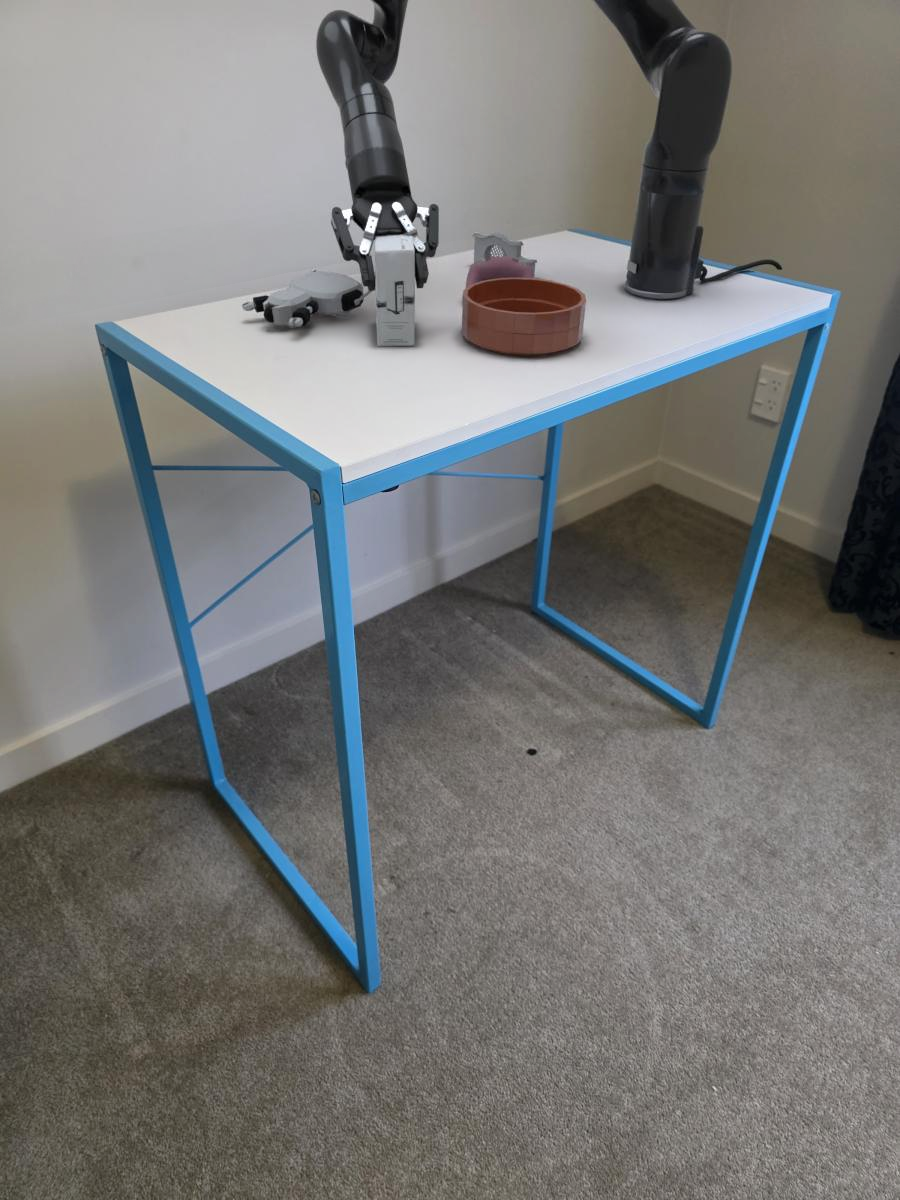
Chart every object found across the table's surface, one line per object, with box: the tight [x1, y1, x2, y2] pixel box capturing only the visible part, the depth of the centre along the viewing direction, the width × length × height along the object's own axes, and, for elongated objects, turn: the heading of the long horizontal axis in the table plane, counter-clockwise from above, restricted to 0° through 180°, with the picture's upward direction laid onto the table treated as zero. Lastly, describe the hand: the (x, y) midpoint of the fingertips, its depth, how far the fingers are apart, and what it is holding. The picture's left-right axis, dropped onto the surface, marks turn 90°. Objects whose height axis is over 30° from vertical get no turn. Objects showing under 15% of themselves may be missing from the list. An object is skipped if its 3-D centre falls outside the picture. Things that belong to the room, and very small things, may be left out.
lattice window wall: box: [471, 231, 538, 275], centre depth 136 cm, size 12×2×6 cm, turn 49°
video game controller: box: [465, 255, 535, 289], centre depth 124 cm, size 10×5×7 cm, turn 84°
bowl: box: [461, 277, 587, 356], centre depth 111 cm, size 16×16×6 cm
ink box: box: [374, 234, 416, 347], centre depth 109 cm, size 9×5×12 cm, turn 4°
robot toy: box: [241, 269, 373, 329], centre depth 116 cm, size 12×4×15 cm
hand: (397, 285), depth 108 cm, fingers closed on ink box, 5 cm apart
